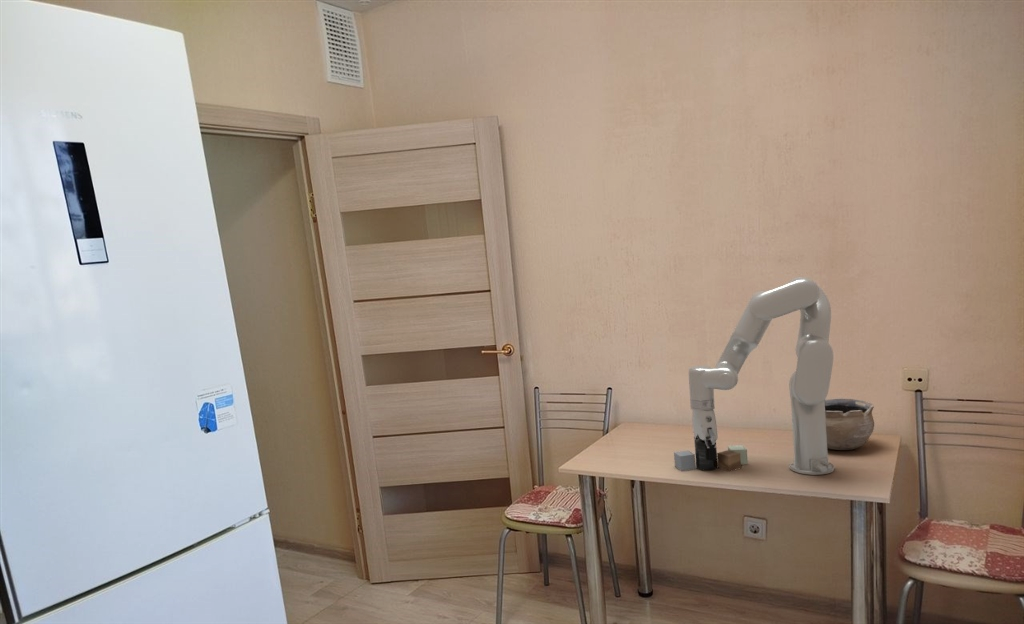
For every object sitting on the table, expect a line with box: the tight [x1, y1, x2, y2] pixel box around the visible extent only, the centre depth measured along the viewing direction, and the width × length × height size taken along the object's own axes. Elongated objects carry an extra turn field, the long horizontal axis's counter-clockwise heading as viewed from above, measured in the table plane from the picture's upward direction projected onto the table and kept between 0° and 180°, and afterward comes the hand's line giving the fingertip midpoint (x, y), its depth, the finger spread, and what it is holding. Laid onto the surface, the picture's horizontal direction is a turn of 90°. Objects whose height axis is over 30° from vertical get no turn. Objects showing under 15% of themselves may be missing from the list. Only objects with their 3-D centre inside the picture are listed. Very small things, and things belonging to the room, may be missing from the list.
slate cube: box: [673, 450, 697, 472], centre depth 212 cm, size 5×5×5 cm
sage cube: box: [727, 444, 749, 465], centre depth 213 cm, size 5×5×5 cm
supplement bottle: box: [694, 432, 718, 472], centre depth 209 cm, size 7×7×12 cm
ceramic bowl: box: [824, 398, 875, 451], centre depth 219 cm, size 22×22×15 cm
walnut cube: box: [717, 449, 742, 472], centre depth 208 cm, size 5×5×5 cm
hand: (705, 455), depth 210 cm, fingers open, 9 cm apart
